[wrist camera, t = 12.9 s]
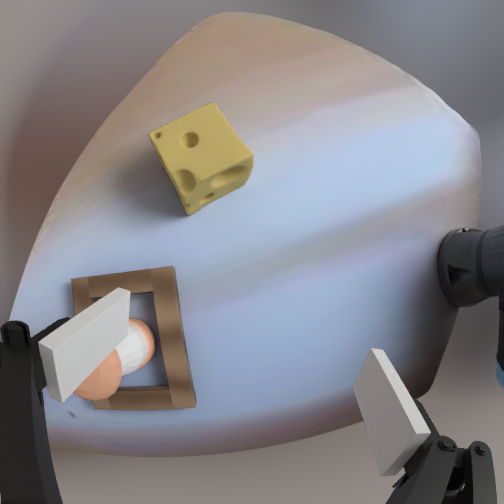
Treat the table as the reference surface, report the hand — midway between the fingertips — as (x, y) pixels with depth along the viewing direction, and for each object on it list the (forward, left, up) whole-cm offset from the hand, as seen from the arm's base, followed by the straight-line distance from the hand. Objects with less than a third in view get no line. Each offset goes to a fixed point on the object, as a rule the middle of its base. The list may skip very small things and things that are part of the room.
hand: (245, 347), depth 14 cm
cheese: (+15, -15, -27) cm, 34 cm away
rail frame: (+10, +12, -26) cm, 31 cm away
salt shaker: (+10, +12, -26) cm, 31 cm away
